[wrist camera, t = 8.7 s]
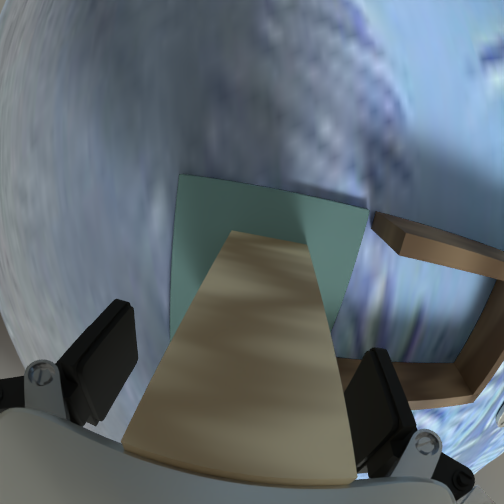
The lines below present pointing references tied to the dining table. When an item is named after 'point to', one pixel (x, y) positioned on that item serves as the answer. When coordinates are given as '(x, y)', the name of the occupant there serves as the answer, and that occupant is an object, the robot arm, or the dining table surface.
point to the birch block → (250, 376)
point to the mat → (260, 234)
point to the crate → (483, 335)
